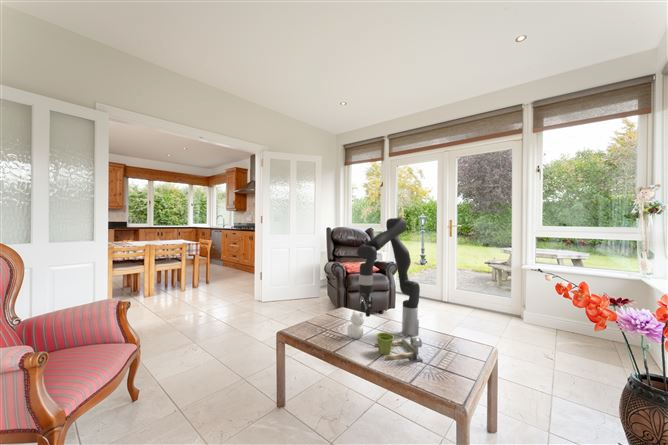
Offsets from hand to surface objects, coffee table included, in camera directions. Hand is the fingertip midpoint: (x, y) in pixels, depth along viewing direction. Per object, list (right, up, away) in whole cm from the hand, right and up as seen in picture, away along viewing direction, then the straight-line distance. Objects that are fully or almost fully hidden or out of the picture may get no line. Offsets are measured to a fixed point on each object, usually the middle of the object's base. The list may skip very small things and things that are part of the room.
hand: (365, 313), depth 141 cm
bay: (+17, -21, +2) cm, 27 cm away
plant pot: (+11, -21, +1) cm, 24 cm away
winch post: (+24, -21, -6) cm, 33 cm away
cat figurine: (-4, -21, +20) cm, 29 cm away
